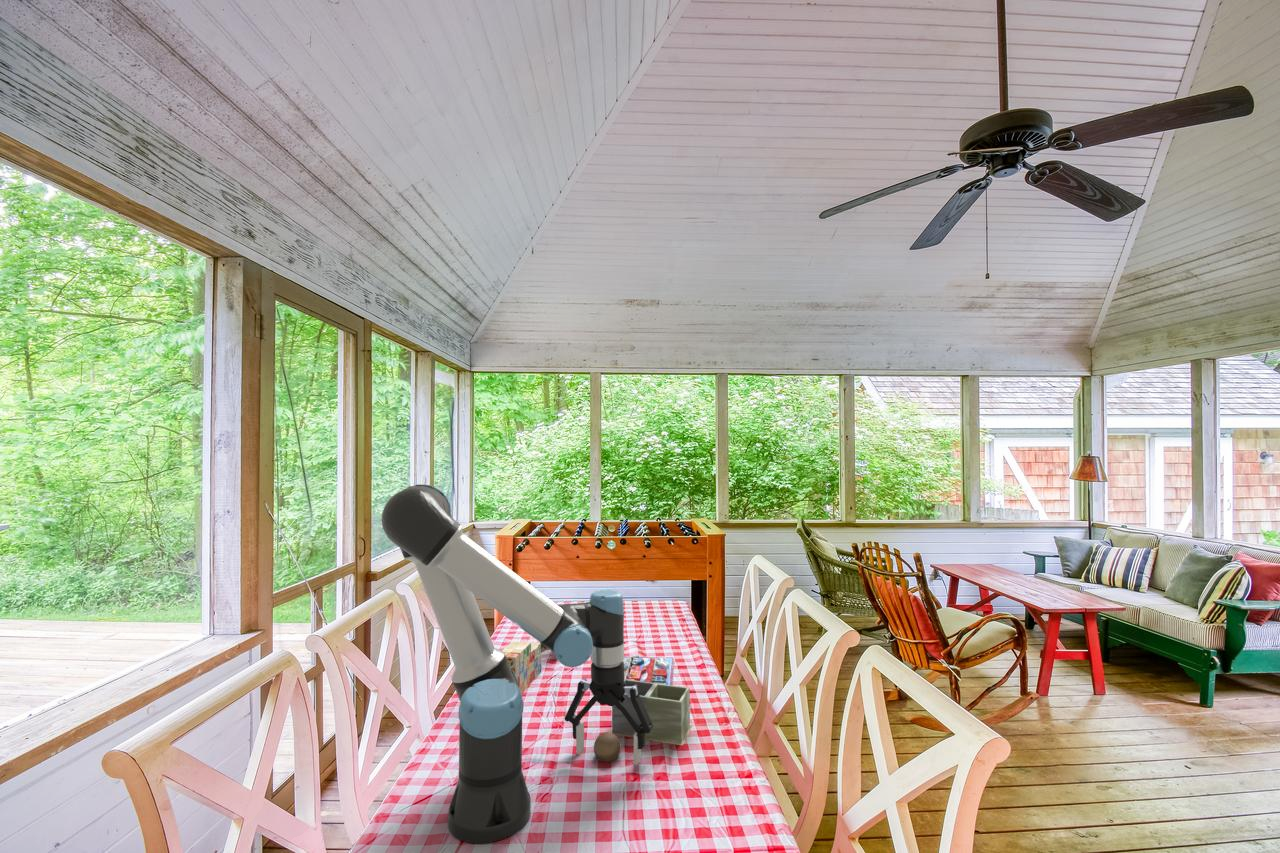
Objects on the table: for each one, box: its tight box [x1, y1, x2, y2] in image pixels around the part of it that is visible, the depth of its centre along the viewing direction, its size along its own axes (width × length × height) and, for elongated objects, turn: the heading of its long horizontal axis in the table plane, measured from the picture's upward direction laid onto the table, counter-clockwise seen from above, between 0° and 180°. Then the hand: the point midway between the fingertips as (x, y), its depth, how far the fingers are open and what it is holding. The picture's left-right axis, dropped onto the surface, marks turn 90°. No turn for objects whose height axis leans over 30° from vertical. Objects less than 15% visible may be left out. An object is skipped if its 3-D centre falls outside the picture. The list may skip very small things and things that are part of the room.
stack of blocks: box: [501, 641, 542, 694], centre depth 169 cm, size 21×6×12 cm, turn 170°
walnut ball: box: [593, 731, 622, 763], centre depth 127 cm, size 6×6×6 cm
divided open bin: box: [609, 679, 693, 747], centre depth 140 cm, size 10×18×10 cm, turn 72°
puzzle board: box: [623, 654, 675, 685], centre depth 174 cm, size 30×23×3 cm
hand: (608, 758), depth 127 cm, fingers open, 13 cm apart
